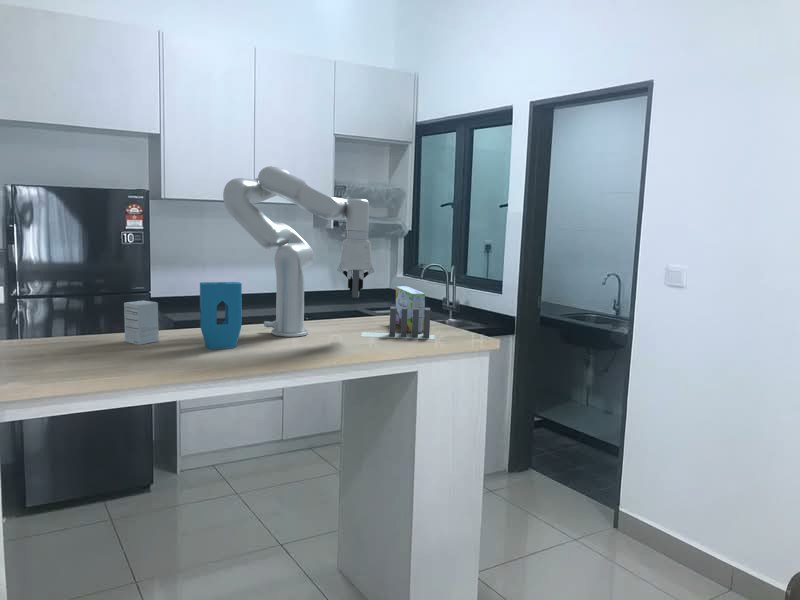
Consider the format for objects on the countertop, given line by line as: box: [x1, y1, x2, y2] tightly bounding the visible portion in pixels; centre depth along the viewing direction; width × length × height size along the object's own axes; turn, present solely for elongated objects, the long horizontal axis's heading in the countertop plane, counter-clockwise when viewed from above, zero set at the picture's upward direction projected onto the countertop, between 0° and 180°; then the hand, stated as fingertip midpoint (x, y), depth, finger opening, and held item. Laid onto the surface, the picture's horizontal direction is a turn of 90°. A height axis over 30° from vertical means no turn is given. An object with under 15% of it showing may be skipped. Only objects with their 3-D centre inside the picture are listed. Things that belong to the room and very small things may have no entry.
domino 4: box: [411, 307, 419, 339], centre depth 222 cm, size 2×5×10 cm, turn 0°
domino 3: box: [400, 307, 408, 337], centre depth 222 cm, size 2×5×10 cm, turn 0°
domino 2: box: [388, 306, 397, 337], centre depth 222 cm, size 2×5×10 cm, turn 0°
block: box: [199, 281, 243, 350], centre depth 195 cm, size 12×5×20 cm, turn 116°
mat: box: [360, 331, 436, 340], centre depth 223 cm, size 26×8×1 cm, turn 90°
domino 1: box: [351, 270, 360, 299], centre depth 213 cm, size 2×5×10 cm, turn 0°
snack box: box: [395, 285, 426, 333], centre depth 240 cm, size 21×6×15 cm, turn 17°
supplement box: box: [123, 300, 160, 346], centre depth 199 cm, size 7×7×13 cm
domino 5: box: [422, 307, 431, 338], centre depth 222 cm, size 2×5×10 cm, turn 0°
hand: (355, 290), depth 213 cm, fingers closed on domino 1, 2 cm apart
